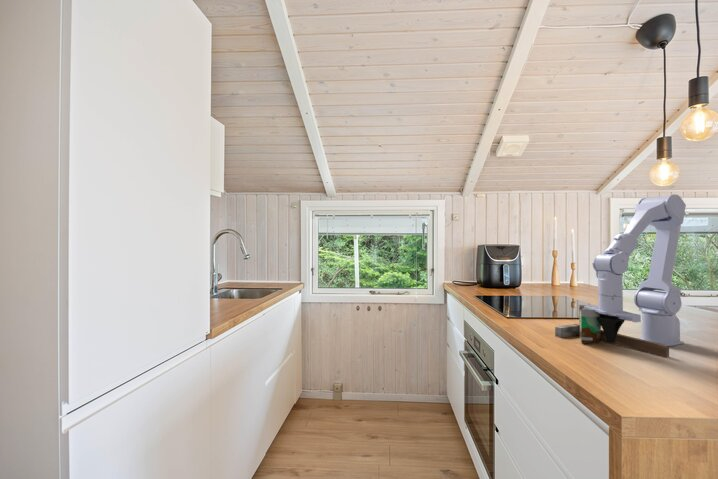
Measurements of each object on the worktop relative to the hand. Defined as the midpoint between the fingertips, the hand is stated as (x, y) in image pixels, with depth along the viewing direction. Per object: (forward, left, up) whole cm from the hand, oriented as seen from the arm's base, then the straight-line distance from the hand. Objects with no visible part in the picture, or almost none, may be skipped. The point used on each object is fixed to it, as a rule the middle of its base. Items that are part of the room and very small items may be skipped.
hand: (610, 342), depth 100 cm
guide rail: (0, -1, -2) cm, 2 cm away
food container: (-1, -6, -2) cm, 6 cm away
